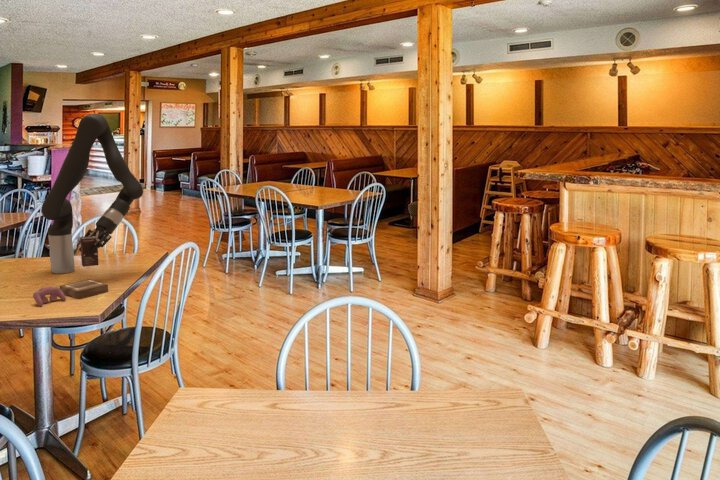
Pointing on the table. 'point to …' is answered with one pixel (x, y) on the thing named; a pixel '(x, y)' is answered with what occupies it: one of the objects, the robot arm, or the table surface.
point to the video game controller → (51, 291)
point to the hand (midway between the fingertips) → (85, 252)
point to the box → (85, 246)
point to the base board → (84, 288)
